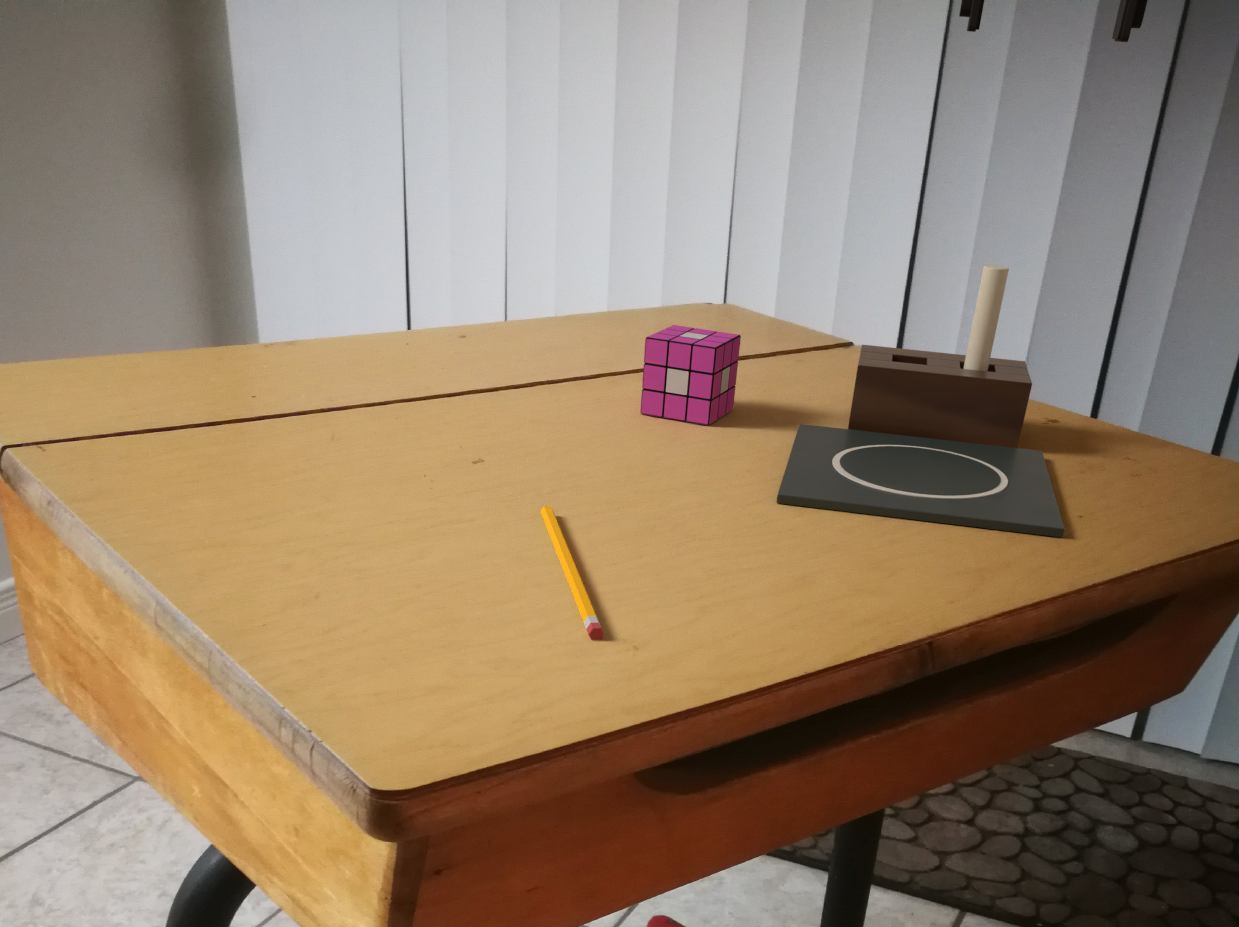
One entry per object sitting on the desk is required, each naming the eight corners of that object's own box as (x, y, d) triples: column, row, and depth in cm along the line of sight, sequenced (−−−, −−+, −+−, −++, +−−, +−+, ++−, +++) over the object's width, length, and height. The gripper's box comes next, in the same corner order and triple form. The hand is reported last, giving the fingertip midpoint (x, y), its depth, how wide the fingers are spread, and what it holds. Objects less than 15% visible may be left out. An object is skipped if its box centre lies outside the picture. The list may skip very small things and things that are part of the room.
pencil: (588, 641, 63) (588, 627, 63) (540, 516, 78) (540, 505, 78) (603, 640, 63) (604, 627, 63) (553, 516, 78) (553, 505, 78)
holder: (851, 408, 105) (861, 344, 102) (1010, 425, 103) (1025, 361, 100) (847, 432, 98) (857, 364, 96) (1016, 451, 96) (1032, 383, 94)
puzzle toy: (667, 398, 104) (672, 324, 101) (733, 409, 102) (741, 334, 99) (639, 414, 99) (645, 336, 96) (708, 426, 98) (716, 347, 94)
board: (1040, 458, 95) (1042, 448, 95) (1062, 537, 80) (1065, 526, 80) (798, 431, 98) (799, 421, 97) (776, 503, 83) (777, 492, 82)
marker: (973, 430, 101) (1008, 265, 94) (974, 436, 99) (1009, 269, 93) (950, 428, 101) (983, 263, 95) (951, 434, 100) (984, 267, 93)
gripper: (1252, -284, 79) (1170, 45, 88) (965, -294, 81) (915, 27, 90) (1281, -311, 72) (1189, 46, 82) (969, -321, 75) (914, 27, 84)
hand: (1045, 36), depth 86 cm, fingers open, 9 cm apart
